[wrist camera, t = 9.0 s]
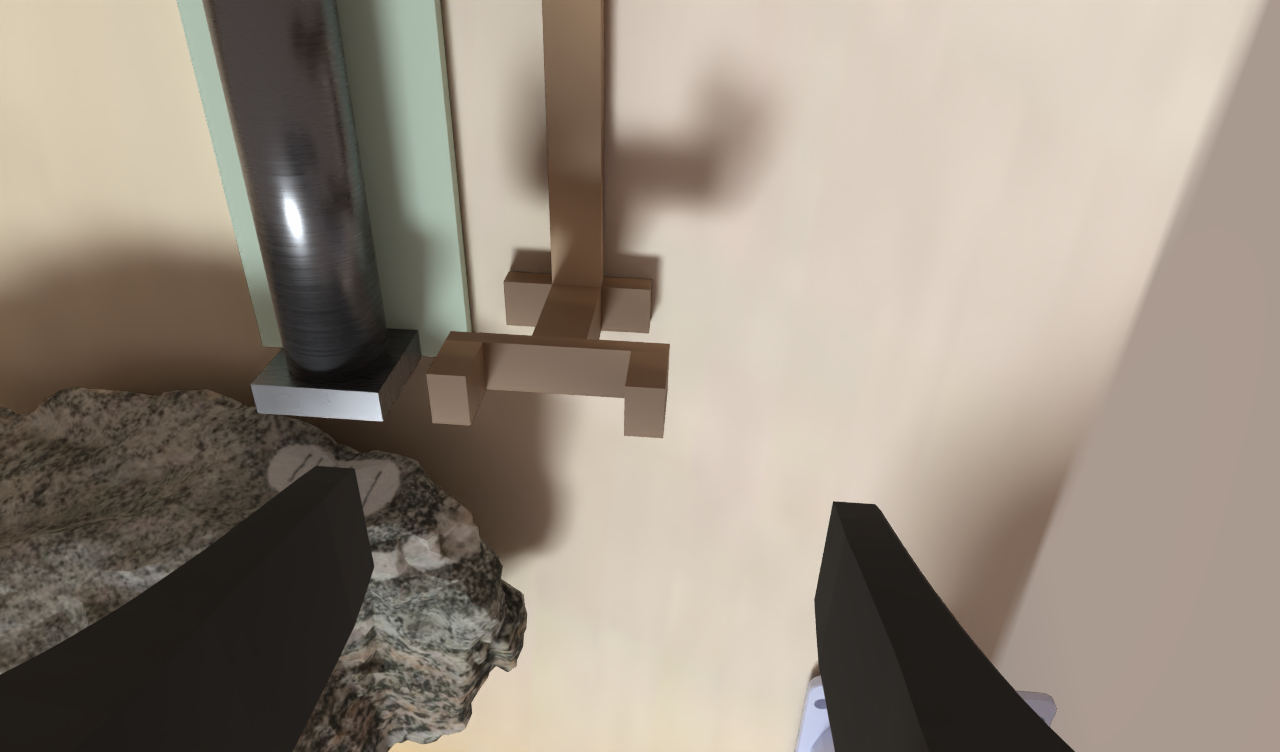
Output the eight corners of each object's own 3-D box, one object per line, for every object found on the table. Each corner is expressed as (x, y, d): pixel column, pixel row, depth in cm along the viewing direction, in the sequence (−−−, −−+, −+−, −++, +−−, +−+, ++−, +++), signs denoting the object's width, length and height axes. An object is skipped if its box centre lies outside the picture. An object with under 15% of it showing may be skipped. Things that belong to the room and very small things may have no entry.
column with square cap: (421, 356, 22) (382, 421, 19) (311, 349, 22) (258, 412, 19) (348, -195, 16) (276, -207, 13) (194, -199, 16) (92, -211, 13)
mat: (473, 351, 22) (469, 358, 22) (269, 339, 22) (263, 346, 22) (421, -193, 16) (414, -195, 15) (139, -200, 16) (126, -201, 16)
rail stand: (673, 323, 21) (662, 438, 17) (488, 312, 21) (432, 423, 17) (695, -112, 16) (688, -104, 12) (453, -119, 16) (361, -114, 12)
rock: (504, 390, 20) (443, 860, 17) (560, 470, 29) (528, 783, 26) (-199, 350, 21) (-373, 780, 18) (68, 439, 30) (-18, 734, 27)
